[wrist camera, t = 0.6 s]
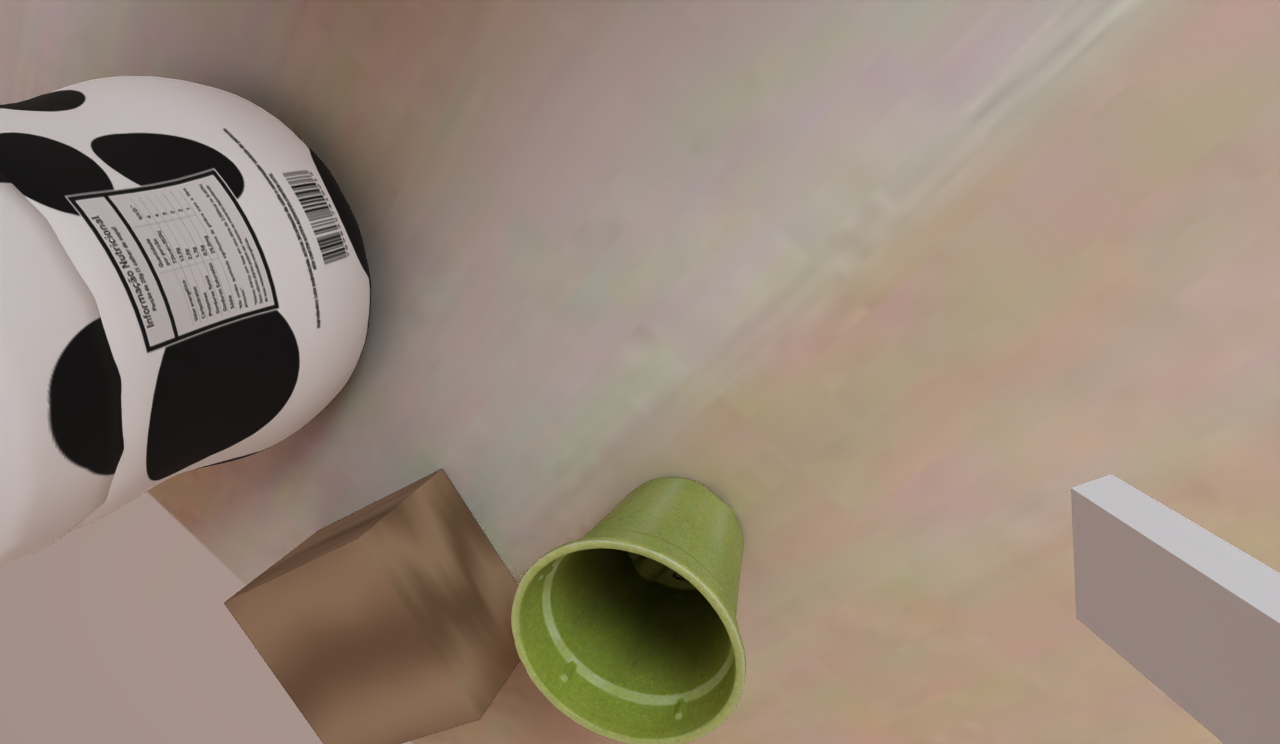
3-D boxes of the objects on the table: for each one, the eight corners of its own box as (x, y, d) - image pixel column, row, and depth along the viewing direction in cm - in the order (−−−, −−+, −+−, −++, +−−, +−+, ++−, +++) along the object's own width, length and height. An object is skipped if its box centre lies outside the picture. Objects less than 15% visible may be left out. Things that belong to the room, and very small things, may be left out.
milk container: (89, 298, 46) (-360, 422, 30) (155, 2, 38) (-402, -47, 22) (335, 475, 45) (4, 704, 28) (455, 205, 37) (95, 311, 21)
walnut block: (317, 530, 46) (223, 603, 40) (442, 468, 42) (358, 538, 36) (413, 672, 48) (337, 763, 41) (543, 625, 43) (480, 719, 37)
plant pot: (793, 620, 39) (761, 759, 31) (609, 615, 42) (539, 740, 34) (764, 439, 36) (722, 540, 28) (571, 449, 39) (485, 542, 32)
